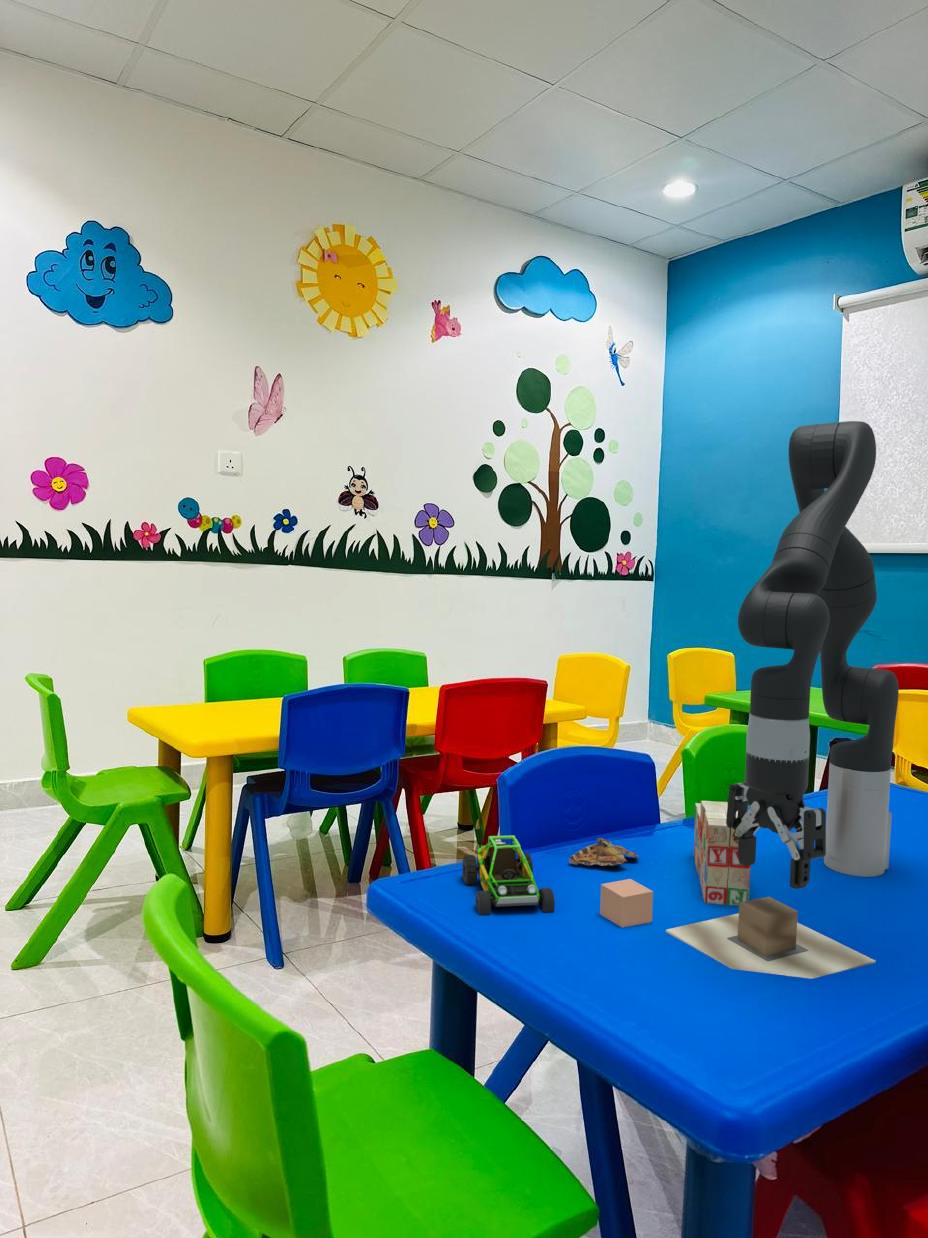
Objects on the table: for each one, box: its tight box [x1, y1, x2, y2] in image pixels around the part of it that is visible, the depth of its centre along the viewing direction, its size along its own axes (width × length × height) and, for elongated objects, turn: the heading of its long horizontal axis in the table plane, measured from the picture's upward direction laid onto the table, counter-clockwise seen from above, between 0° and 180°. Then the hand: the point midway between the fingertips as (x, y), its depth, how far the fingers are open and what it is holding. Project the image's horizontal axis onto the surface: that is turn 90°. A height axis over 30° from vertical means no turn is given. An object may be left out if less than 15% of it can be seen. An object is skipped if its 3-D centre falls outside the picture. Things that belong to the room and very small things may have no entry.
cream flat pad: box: [665, 912, 876, 980], centre depth 115 cm, size 18×18×1 cm
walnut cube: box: [738, 896, 799, 956], centre depth 115 cm, size 5×5×5 cm
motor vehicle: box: [461, 818, 556, 916], centre depth 132 cm, size 11×18×10 cm, turn 10°
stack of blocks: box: [693, 800, 752, 907], centre depth 139 cm, size 21×6×12 cm, turn 170°
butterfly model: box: [568, 837, 640, 867], centre depth 147 cm, size 9×12×3 cm
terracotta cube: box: [599, 878, 654, 928], centre depth 123 cm, size 5×5×5 cm
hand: (771, 875), depth 114 cm, fingers open, 8 cm apart
